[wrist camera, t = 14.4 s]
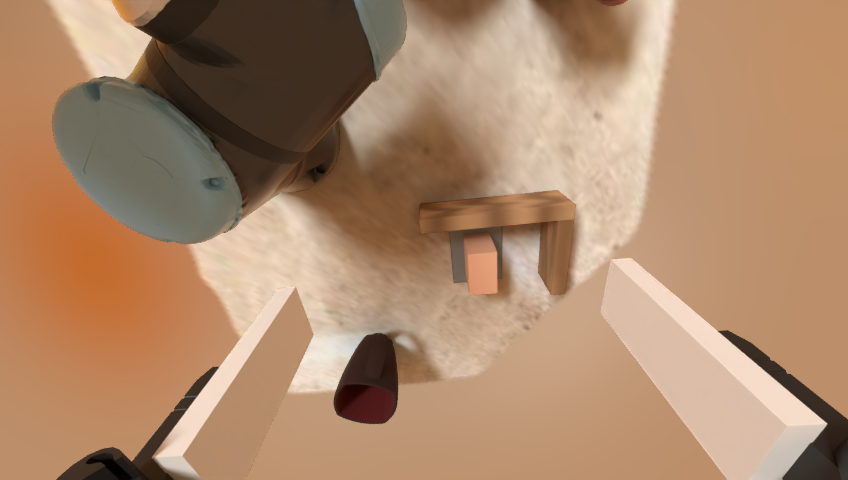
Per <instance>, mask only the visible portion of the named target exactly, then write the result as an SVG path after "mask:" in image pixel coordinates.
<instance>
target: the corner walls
mask: <svg viewBox="0 0 848 480" xmlns="http://www.w3.org/2000/svg"><path fill="white" fill-rule="evenodd" d="M575 209H576V204H575V203H573V202H572V201H571V200H570V199H568V198H567V197H566V196H565V195H563V194H562V193H561V192H560V191H558V190H554V191H544V192H534V193H525V194H515V195H505V196H495V197H485V198H476V199H466V200H456V201H446V202H436V203H427V204H420V213H419V224H420V232H421V234H423V233H434V232H444V231H455V230H465V229H476V228H486V227H497V226H507V225H518V224H528V223H538V222H542V223H541V237H540V251H539V266H538V273H539V275H540V277H541V278H542V280H543V282H544V284H545V285H546V287H547V289H548V290H549V292H550V294H551V295H556V294H565V290H566V282H567V274H568V266H569V257H570V249H571V241H572V233H573V225H574V217H575Z"/></svg>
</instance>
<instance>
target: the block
mask: <svg viewBox="0 0 848 480" xmlns="http://www.w3.org/2000/svg"><path fill="white" fill-rule="evenodd" d="M463 238H464V255H465V271H466V278H467V283H468V288H469V293H470V295H482V294H494V293H497V250H496V248H495V246H494V243H493V241H492V238H491V236H490V234H489V233H483V234H473V235H463Z"/></svg>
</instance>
